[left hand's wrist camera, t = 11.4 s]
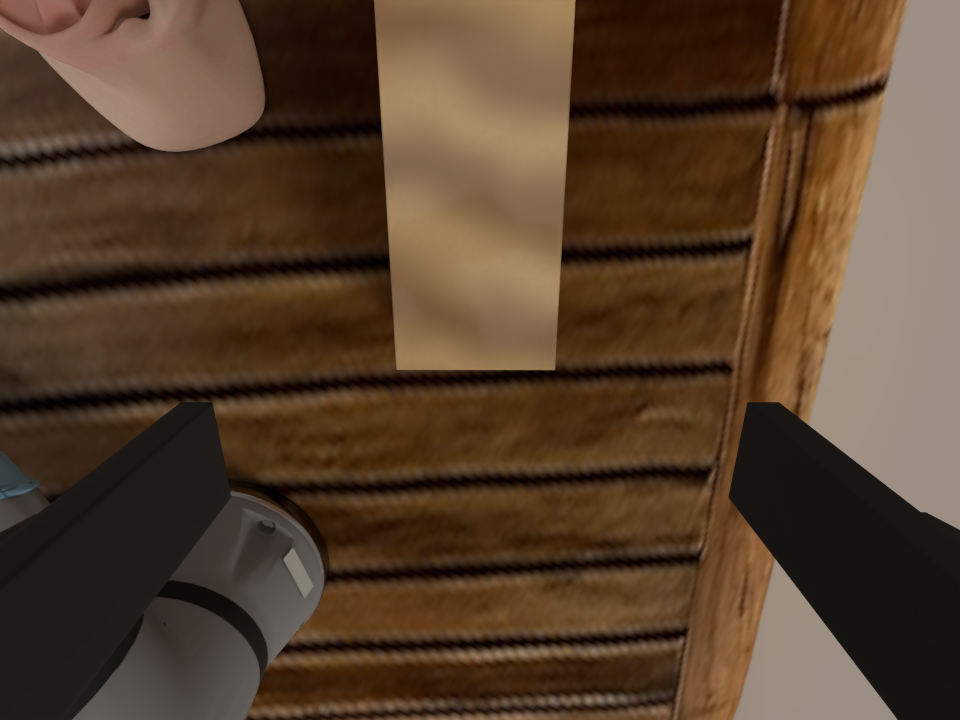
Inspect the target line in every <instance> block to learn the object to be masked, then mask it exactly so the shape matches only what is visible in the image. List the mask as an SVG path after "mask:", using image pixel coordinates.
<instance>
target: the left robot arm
mask: <svg viewBox="0 0 960 720" xmlns="http://www.w3.org/2000/svg"><path fill="white" fill-rule="evenodd" d="M39 486H41V484H40V483H39V481H38V480H37V479H35V478H31V477H28V476H27V475H26V474H25V473H24V472H22V471H21V470H20V469H19V468H18V467H17V466H16V465H15V464H14V463H13V462H12V461H11V460H10V459H9V458H8V457H7V456H6V455H5V454H4V453H3V452H2V451H1V450H0V720H245V719H246V717H247V714H248V712H249V709H250V707H251V704H252V702H253V700H254V697H255V695H256V692H257V690H258V687H259V685H260V683H261V680H262V678H263V676H264V673H265V671H266V669H267V667H268V665H269V664H270V663H271V662H272V661H273V659H274V658H275V657H276V656H277V654H278V653H279V652H280V651H281V650H282V648H283V647H284V646H285V645H286V644H287V642H288V641H289V640H290V639H291V637H292V636H293V635H294V634H295V633H296V632H297V631H298V630H299V629H300V628H301V627H302V626H303V625H304V624H305V623H306V622H307V620H308V619H309V618H310V617H311V616H312V614H313V613H314V611H315V610H316V608H317V606H318V604H319V602H320V599H321V597H322V594H323V591H324V589H325V586H326V583H327V580H328V574H329V557H328V552H327V549H326V546H325V543H324V541H323V538H322V536H321V534H320V533H319V531H318V529H317V528H316V526H315V525H314V524H313V522H312V521H311V520H310V519H309V518H308V517H307V516H306V515H305V514H304V513H303V512H302V511H301V510H300V509H299V508H298V507H296V506H295V505H294V504H293V503H291V502H290V501H288V500H287V499H285V498H283V497H282V496H280V495H278V494H276V493H274V492H272V491H270V490H267V489H265V488H262V487H259V486H256V485H252V484H248V483H243V482H237V481H228V478H227V473H226V468H225V463H224V458H223V453H222V448H221V443H220V438H219V433H218V428H217V423H216V418H215V413H214V408H213V403H212V402H181V403H180V404H178V405H177V406H176V407H175V408H173V409H172V410H171V411H169V412H168V413H167V414H165V415H164V416H163V417H162V418H160V419H159V420H158V421H156V422H155V423H154V424H153V425H151V426H150V427H149V428H147V429H146V430H145V431H144V432H142V433H141V434H140V435H138V436H137V437H136V438H135V439H133V440H132V441H131V442H129V443H128V444H127V445H126V446H124V447H123V448H122V449H120V450H119V451H118V452H117V453H115V454H114V455H113V456H111V457H110V458H109V459H107V460H106V461H105V462H104V463H102V464H101V465H100V466H98V467H97V468H96V469H95V470H93V471H92V472H91V473H89V474H88V475H87V476H86V477H84V478H83V479H82V480H80V481H79V482H78V483H77V484H75V485H74V486H73V487H71V488H70V489H69V490H68V491H66V492H65V493H64V494H62V495H61V496H60V497H59V498H57V499H56V500H55V501H53V502H52V503H51V504H50V503H49V502H48V500H47V499H46V498H45V497H44V496H43V495H42V493H41V492H40V491H39V490H38V489H37V488H36V487H39ZM729 498H730V500H731V501H732V502H733V504H734V505H735V506H736V508H737V509H738V510H739V512H740V513H741V514H742V516H743V517H744V518H745V519H746V521H747V522H748V523H749V525H750V526H751V527H752V529H753V530H754V531H755V533H756V534H757V535H758V537H759V538H760V539H761V541H762V542H763V543H764V544H765V546H766V547H767V548H768V550H769V551H770V552H771V554H772V555H773V556H774V558H775V559H776V560H777V562H778V563H779V564H780V565H781V567H782V568H783V569H784V571H785V572H786V573H787V575H788V576H789V577H790V579H791V580H792V581H793V583H794V584H795V585H796V587H797V588H798V589H799V590H800V592H801V593H802V594H803V596H804V597H805V598H806V600H807V601H808V602H809V604H810V605H811V606H812V607H813V609H814V610H815V611H816V613H817V614H818V615H819V617H820V618H821V619H822V621H823V622H824V623H825V625H826V626H827V627H828V629H829V630H830V631H831V632H832V634H833V635H834V636H835V638H836V639H837V640H838V642H839V643H840V644H841V646H842V647H843V648H844V650H845V651H846V652H847V654H848V655H849V656H850V657H851V659H852V660H853V661H854V663H855V664H856V665H857V667H858V668H859V669H860V671H861V672H862V673H863V675H864V676H865V677H866V679H867V680H868V681H869V682H870V684H871V685H872V686H873V688H874V689H875V690H876V692H877V693H878V694H879V695H880V697H881V698H882V700H883V701H884V702H885V704H886V705H887V706H888V707H889V709H890V710H891V711H892V713H893V714H894V715H895V717H896V718H897V719H898V720H960V530H959V529H957V528H955V527H953V526H951V525H949V524H947V523H945V522H943V521H941V520H939V519H938V518H936V517H934V516H932V515H930V514H928V513H926V512H920V511H918V510H917V509H916V508H914V507H913V506H912V505H911V504H909V503H908V502H907V501H905V500H904V499H903V498H901V497H900V496H899V495H898V494H896V493H895V492H894V491H892V490H891V489H890V488H889V487H887V486H886V485H885V484H883V483H882V482H881V481H880V480H878V479H877V478H876V477H874V476H873V475H872V474H871V473H869V472H868V471H867V470H865V469H864V468H863V467H862V466H860V465H859V464H858V463H856V462H855V461H854V460H853V459H851V458H850V457H849V456H847V455H846V454H845V453H843V452H842V451H841V450H840V449H838V448H837V447H836V446H834V445H833V444H832V443H831V442H829V441H828V440H827V439H825V438H824V437H823V436H821V435H820V434H819V433H818V432H816V431H815V430H814V429H813V428H811V427H810V426H809V425H807V424H806V423H805V422H804V421H802V420H801V419H800V418H798V417H797V416H796V415H795V414H793V413H792V412H791V411H789V410H788V409H787V408H785V407H784V406H783V405H782V404H780V403H779V402H748V403H747V408H746V413H745V418H744V423H743V428H742V433H741V438H740V443H739V448H738V453H737V458H736V463H735V468H734V473H733V478H732V483H731V488H730V493H729Z"/></svg>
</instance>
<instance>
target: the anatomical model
mask: <svg viewBox="0 0 960 720" xmlns="http://www.w3.org/2000/svg"><path fill="white" fill-rule="evenodd" d="M0 28H2V29H3V30H4V31H6V32H7V33H8V34H10V35H12V36H13V37H15V38H17V39H18V40H20V41H21V42H23V43H25V44H26V45H28V46H30V47H32V48H34V49H36V50H37V51H38V52H39V53H40V54H41V55H42V56H43V58H44V59H45V60H46V61H47V62H48V63H49V64H50V65H51V66H52V67H53V68H54V70H55V71H56V72H57V73H58V74H59V75H60V76H61V77H62V78H63V79H64V80H65V81H66V82H67V83H68V84H69V85H70V86H71V87H72V88H74V89H75V90H76V91H77V92H78V93H79V94H80V95H81V96H82V97H83V98H84V99H85V100H86V101H87V102H88V103H89V104H91V105H92V106H93V107H94V108H95V109H96V110H97V111H98V112H99V113H100V114H102V115H103V116H104V117H105V118H106V119H107V120H109V121H110V122H111V123H112V124H114V125H115V126H116V127H117V128H119V129H120V130H121V131H123V132H124V133H125V134H127V135H128V136H130V137H131V138H133V139H134V140H136V141H138V142H140V143H141V144H143V145H146V146H148V147H151V148H154V149H157V150H163V151H172V152H179V151H190V150H195V149H200V148H205V147H208V146H211V145H214V144H217V143H220V142H223V141H225V140H227V139H230V138H232V137H235V136H237V135H238V134H240V133H242V132H244V131H246V130H247V129H249V128H250V127H252V126H253V125H254V124H255V123H256V122H257V121H258V120H259V119H260V117H261V116H262V113H263V111H264V107H265V91H264V83H263V77H262V73H261V68H260V64H259V59H258V55H257V50H256V46H255V43H254V39H253V36H252V33H251V30H250V28H249V25H248V22H247V20H246V17H245V14H244V12H243V9H242V7H241V4H240V2H239V0H0Z"/></svg>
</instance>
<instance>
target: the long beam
mask: <svg viewBox="0 0 960 720" xmlns="http://www.w3.org/2000/svg"><path fill="white" fill-rule="evenodd" d="M374 8H375V25H376V41H377V58H378V74H379V91H380V107H381V124H382V140H383V156H384V173H385V189H386V206H387V222H388V239H389V255H390V272H391V288H392V305H393V321H394V337H395V354H396V369H397V370H555V359H556V341H557V323H558V305H559V287H560V269H561V251H562V233H563V215H564V197H565V179H566V161H567V143H568V125H569V107H570V89H571V71H572V53H573V35H574V17H575V0H374Z"/></svg>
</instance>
